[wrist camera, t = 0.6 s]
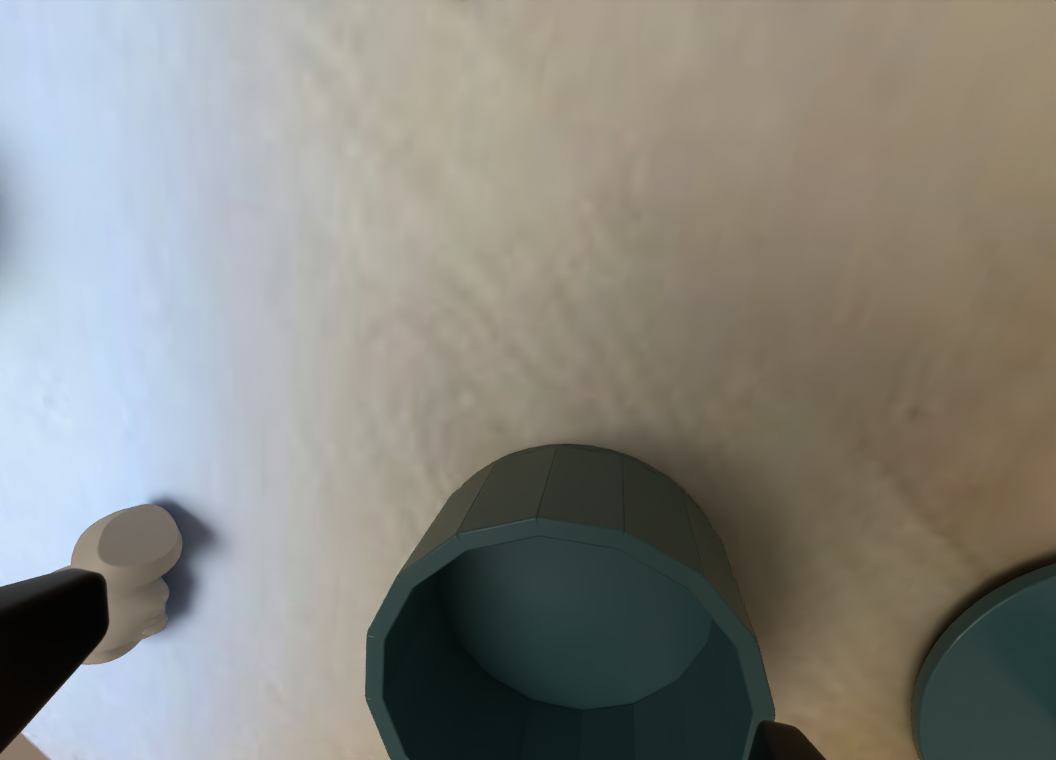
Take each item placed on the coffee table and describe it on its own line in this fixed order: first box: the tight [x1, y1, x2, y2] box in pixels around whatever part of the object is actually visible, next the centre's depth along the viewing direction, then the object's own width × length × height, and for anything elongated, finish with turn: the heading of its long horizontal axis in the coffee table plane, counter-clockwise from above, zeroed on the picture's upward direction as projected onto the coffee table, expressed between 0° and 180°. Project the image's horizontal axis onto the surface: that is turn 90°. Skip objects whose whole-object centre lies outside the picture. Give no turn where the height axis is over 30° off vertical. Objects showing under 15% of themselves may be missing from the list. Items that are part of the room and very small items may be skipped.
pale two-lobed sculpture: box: [52, 504, 183, 665], centre depth 23 cm, size 4×8×5 cm
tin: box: [365, 444, 775, 760], centre depth 19 cm, size 12×12×6 cm
